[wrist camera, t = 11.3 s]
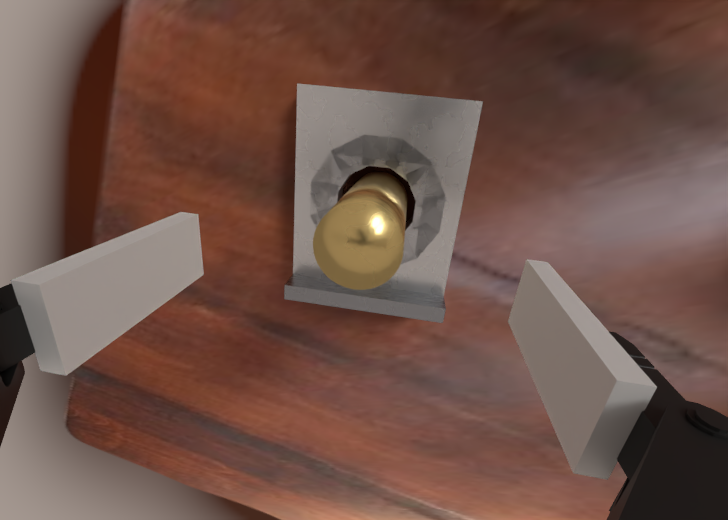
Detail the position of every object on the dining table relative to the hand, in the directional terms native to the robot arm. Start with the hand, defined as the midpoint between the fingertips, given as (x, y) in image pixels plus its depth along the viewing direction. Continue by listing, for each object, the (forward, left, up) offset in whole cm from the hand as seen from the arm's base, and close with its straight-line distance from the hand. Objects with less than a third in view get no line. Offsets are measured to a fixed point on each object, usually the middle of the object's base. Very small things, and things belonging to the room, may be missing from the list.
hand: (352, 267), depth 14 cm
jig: (0, 0, -14) cm, 14 cm away
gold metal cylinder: (0, 0, -14) cm, 14 cm away
